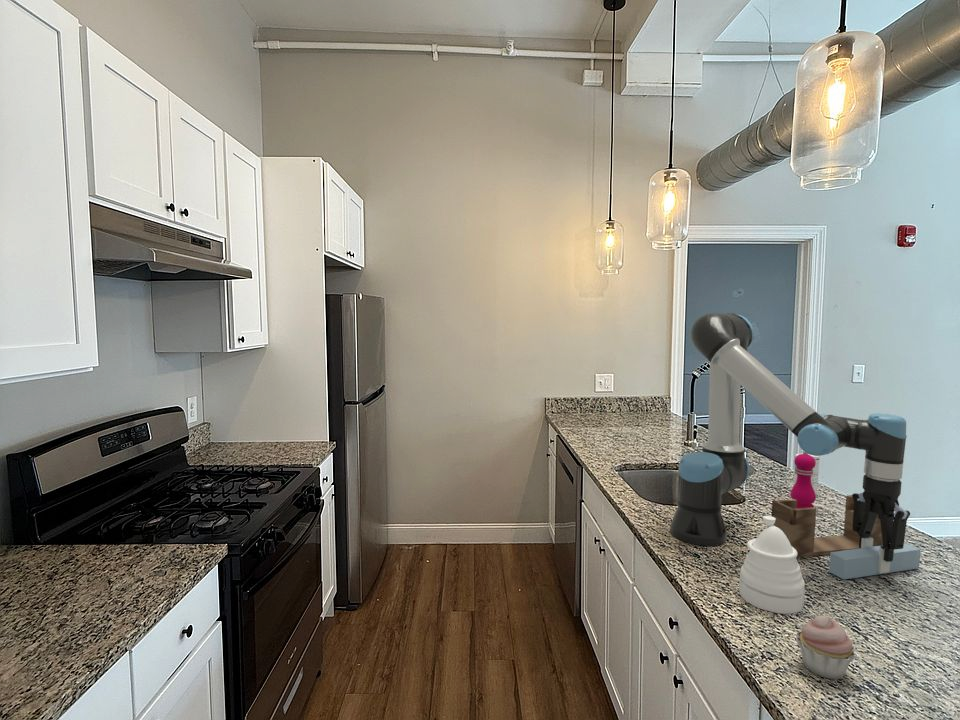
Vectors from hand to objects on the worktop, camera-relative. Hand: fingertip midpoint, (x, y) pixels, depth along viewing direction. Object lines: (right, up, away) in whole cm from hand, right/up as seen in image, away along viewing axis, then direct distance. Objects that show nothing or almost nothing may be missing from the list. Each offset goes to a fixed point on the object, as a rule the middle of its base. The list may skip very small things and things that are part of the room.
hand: (874, 567), depth 132 cm
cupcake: (-37, -4, -37) cm, 52 cm away
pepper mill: (+8, +2, +43) cm, 44 cm away
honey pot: (-33, -2, -13) cm, 35 cm away
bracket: (-2, 0, +13) cm, 14 cm away
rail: (0, -1, 0) cm, 1 cm away
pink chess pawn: (+18, +3, +57) cm, 60 cm away
